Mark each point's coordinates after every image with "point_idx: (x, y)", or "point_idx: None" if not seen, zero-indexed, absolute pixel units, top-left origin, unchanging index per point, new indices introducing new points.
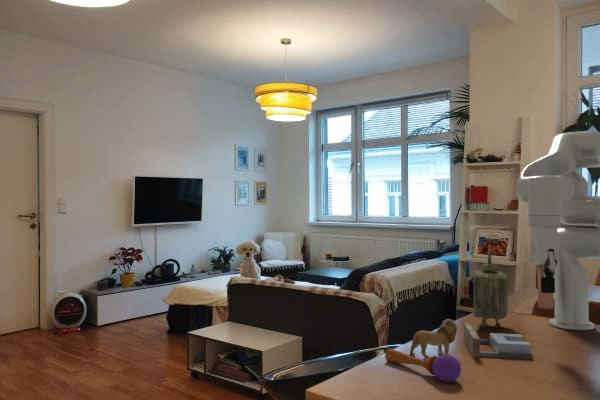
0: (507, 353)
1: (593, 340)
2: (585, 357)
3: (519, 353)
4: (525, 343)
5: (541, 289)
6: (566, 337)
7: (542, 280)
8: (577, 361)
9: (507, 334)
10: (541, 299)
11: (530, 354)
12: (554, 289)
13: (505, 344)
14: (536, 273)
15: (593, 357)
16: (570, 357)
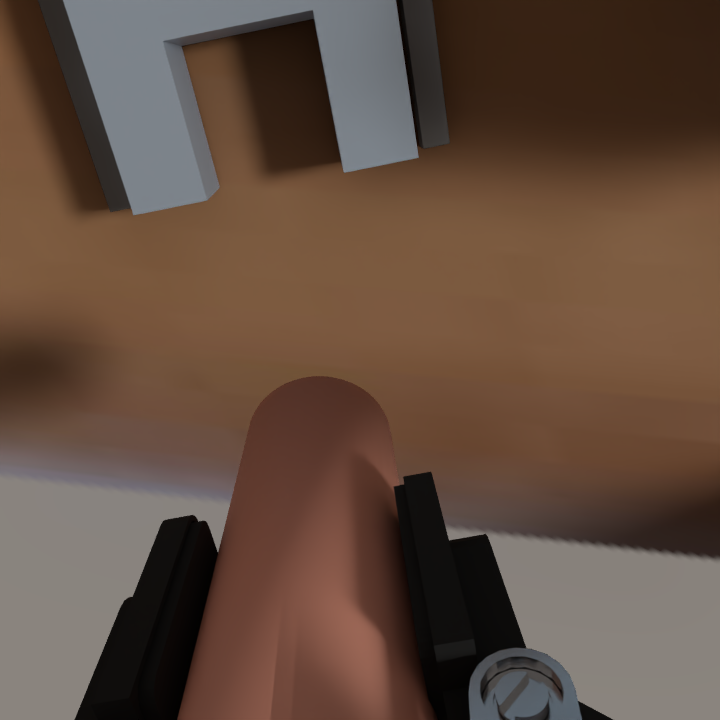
0: (61, 37)
1: (649, 547)
2: None
3: None
4: (152, 179)
5: (165, 538)
6: (690, 435)
7: (117, 665)
8: (198, 433)
9: (380, 50)
10: (249, 453)
11: (119, 199)
12: None
13: (72, 19)
14: (527, 663)
15: None
16: None
